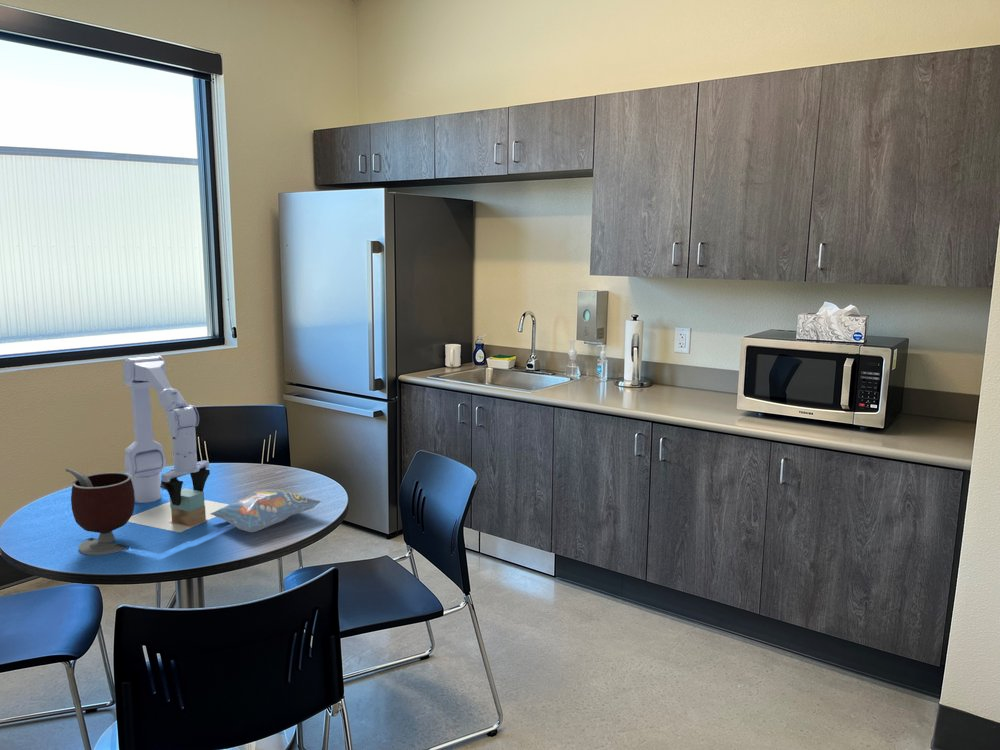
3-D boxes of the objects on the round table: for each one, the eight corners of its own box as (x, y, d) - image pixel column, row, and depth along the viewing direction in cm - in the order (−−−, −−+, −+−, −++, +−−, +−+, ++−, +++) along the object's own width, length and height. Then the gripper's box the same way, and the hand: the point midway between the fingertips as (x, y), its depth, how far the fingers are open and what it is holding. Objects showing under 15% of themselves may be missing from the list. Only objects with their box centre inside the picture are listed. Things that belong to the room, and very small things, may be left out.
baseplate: (121, 524, 197) (120, 519, 197) (184, 500, 217) (183, 495, 217) (179, 536, 190) (179, 532, 189) (239, 510, 210) (239, 506, 209)
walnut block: (171, 522, 196) (171, 507, 196) (186, 516, 201) (185, 502, 200) (191, 526, 194) (191, 511, 193) (205, 519, 198) (205, 505, 198)
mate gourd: (147, 534, 190) (142, 461, 187) (121, 556, 177) (115, 477, 174) (87, 534, 190) (81, 460, 187) (56, 556, 176) (49, 476, 173)
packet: (321, 517, 205) (320, 488, 204) (247, 542, 187) (245, 510, 185) (284, 504, 216) (283, 476, 214) (210, 526, 197) (208, 496, 196)
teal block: (170, 507, 196) (169, 493, 195) (184, 502, 200) (184, 488, 200) (190, 511, 193) (189, 497, 192) (204, 505, 198) (203, 491, 197)
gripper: (174, 460, 186) (177, 510, 188) (216, 446, 199) (218, 494, 201) (154, 456, 189) (157, 507, 191) (196, 444, 202) (199, 491, 204)
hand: (187, 500), depth 196 cm, fingers open, 7 cm apart
